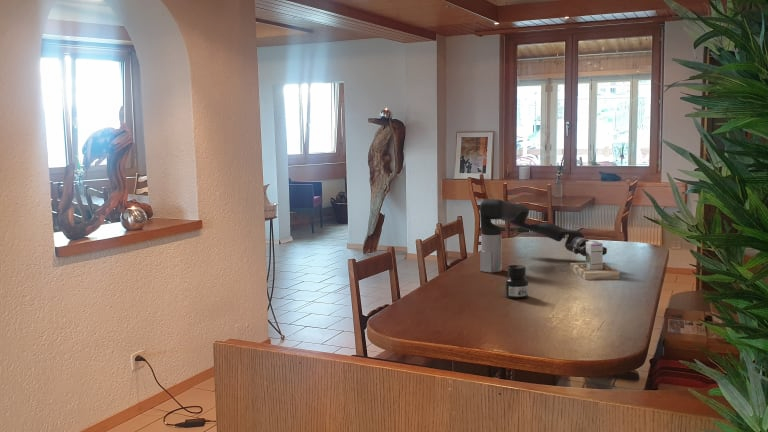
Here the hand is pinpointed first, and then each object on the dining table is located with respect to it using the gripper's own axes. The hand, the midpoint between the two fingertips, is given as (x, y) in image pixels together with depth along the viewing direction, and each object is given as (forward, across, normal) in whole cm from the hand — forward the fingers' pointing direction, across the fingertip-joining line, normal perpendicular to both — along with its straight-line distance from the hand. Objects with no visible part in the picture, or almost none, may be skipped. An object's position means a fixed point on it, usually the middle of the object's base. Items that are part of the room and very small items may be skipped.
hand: (594, 253), depth 313 cm
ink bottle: (+39, +42, -10) cm, 58 cm away
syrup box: (0, 0, -10) cm, 10 cm away
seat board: (0, 0, -10) cm, 10 cm away
